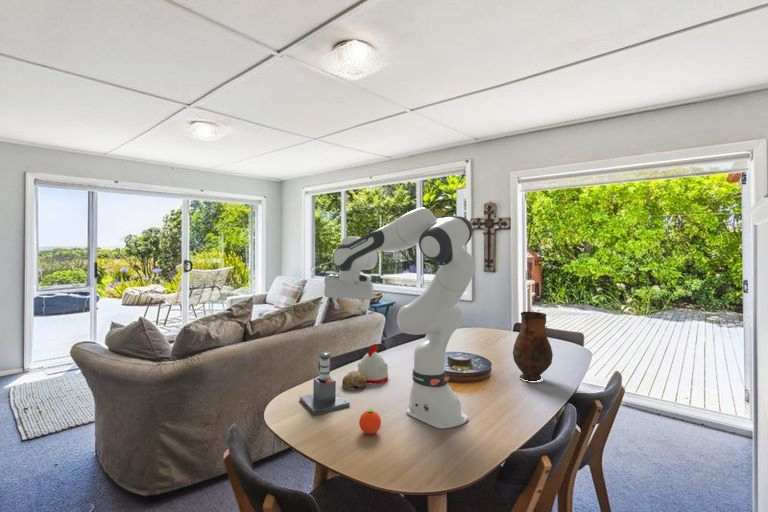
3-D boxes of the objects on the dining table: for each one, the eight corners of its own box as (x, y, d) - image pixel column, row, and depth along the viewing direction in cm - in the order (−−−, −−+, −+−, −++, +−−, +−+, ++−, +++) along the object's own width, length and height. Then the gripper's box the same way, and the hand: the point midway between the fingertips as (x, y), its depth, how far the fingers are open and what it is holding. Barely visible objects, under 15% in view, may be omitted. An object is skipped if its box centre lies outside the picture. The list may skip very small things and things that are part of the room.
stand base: (349, 406, 140) (350, 380, 139) (313, 415, 132) (314, 387, 132) (333, 393, 151) (333, 369, 151) (299, 400, 144) (300, 375, 144)
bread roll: (343, 398, 156) (345, 384, 152) (339, 380, 164) (341, 366, 161) (367, 396, 158) (369, 382, 155) (362, 378, 167) (364, 364, 163)
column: (332, 399, 141) (333, 354, 140) (321, 402, 139) (321, 356, 138) (327, 395, 145) (328, 351, 144) (316, 397, 142) (316, 352, 142)
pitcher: (505, 379, 171) (507, 312, 170) (525, 368, 186) (527, 307, 185) (542, 389, 160) (544, 318, 158) (560, 377, 175) (563, 312, 174)
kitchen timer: (392, 376, 173) (393, 343, 172) (379, 386, 160) (380, 350, 160) (365, 371, 178) (366, 339, 178) (351, 380, 166) (351, 346, 165)
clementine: (358, 426, 125) (359, 404, 125) (380, 425, 125) (380, 404, 125) (359, 438, 117) (359, 416, 117) (381, 438, 117) (381, 415, 117)
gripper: (323, 275, 153) (321, 308, 154) (373, 277, 152) (371, 312, 153) (326, 273, 160) (325, 306, 160) (374, 276, 158) (373, 309, 159)
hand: (348, 309), depth 156 cm, fingers open, 8 cm apart
